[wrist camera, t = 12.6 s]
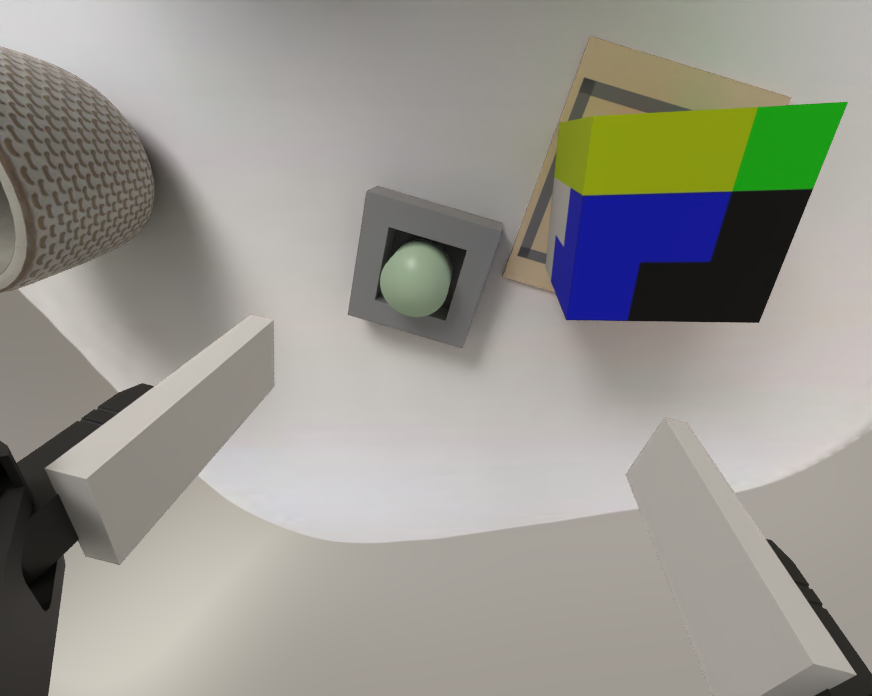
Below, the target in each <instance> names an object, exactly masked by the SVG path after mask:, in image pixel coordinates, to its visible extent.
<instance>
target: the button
mask: <svg viewBox="0 0 872 696" xmlns="http://www.w3.org/2000/svg"><path fill="white" fill-rule="evenodd" d="M452 273H453V271H452V264H451V261H450V258H449V256H448V255H447V253H446V252H445V251H444V249H442V248H441V247H440V246H439V245H437V244H436V243H434V242H431V241H428V240H422V239H419V240H412V241H409V242H407V243H405V244H403V245H402V246H401V247H400V248H399V249H398V250H397V251H396V252H395V254H394V255H393V256H392V257H391V258H390V259H389V261H388V262H387V263H386V264H385V266H384V268H383V270H382V273H381V277H380V287H381V291H382V294H383V296H384V298H385V300H386V301H387V303H388V304H389V305H390V306H391V307H392V308H393V309H394V310H396V311H397V312H399V313H401V314H403V315H406V316H410V317H424V316H427V315H430V314H432V313H434V312H435V311H437V310H438V309H439V308H440V307H441V306H442V304H443V303H444V301H445V299H446V296H447V293H448V290H449V286H450V283H451V279H452Z"/></svg>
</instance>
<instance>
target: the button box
mask: <svg viewBox="0 0 872 696" xmlns="http://www.w3.org/2000/svg"><path fill="white" fill-rule="evenodd" d="M395 229H397V230H400V231H404V232H407V233H411V234H414V235H417V236H421V237H424V238H427V239H431V240H434V241H438V242H441V243H444V244H448V245H451V246H454V247H458V248H461V249H464V250H466V253H465V257H464V260H463V263H462V266H461V270H460V273H459V276H458V280H457V283H456V286H455V290H454V293H453V296H452V300H451V303H450V306H446V305H442V306H441V307H440V308H439V309H438V310H437V311H435V312H434V313H432V314H430V315H427V316H424V317H410V316H406V315H403V314H401V313H399V312H397V311H396V310H394V309H393V308H392V307H391V306H390V305H389V304H388V303H387V301H386V300H385V298H384V296H383V294H382V291H381V287H380V277H381V273H382V270H383V268H384V266H385V264H386V263H387V262H388V261H389V259H390V255H391V249H392V244H393V239H394V234H395ZM501 234H502V223H500V222H497V221H493V220H490V219H487V218H483V217H480V216H477V215H473V214H470V213H467V212H463V211H460V210H457V209H453V208H450V207H446V206H443V205H440V204H436V203H433V202H430V201H426V200H423V199H420V198H416V197H413V196H410V195H406V194H403V193H400V192H396V191H393V190H389V189H386V188H383V187H379V186H377V187H374V188H372V189H370V190H368V191H367V192H366V199H365V205H364V212H363V218H362V225H361V231H360V238H359V244H358V251H357V258H356V264H355V271H354V277H353V284H352V290H351V297H350V303H349V310H348V315H351V316H354V317H357V318H361V319H364V320H368V321H371V322H375V323H378V324H381V325H385V326H388V327H392V328H395V329H398V330H402V331H405V332H409V333H412V334H415V335H419V336H422V337H426V338H429V339H433V340H436V341H439V342H443V343H446V344H450V345H453V346H456V347H460V348H463V345H464V342H465V339H466V336H467V333H468V330H469V327H470V324H471V321H472V318H473V316H474V313H475V310H476V307H477V304H478V301H479V298H480V295H481V292H482V289H483V286H484V283H485V281H486V278H487V275H488V272H489V269H490V266H491V263H492V260H493V257H494V254H495V251H496V248H497V246H498V243H499V240H500V237H501Z"/></svg>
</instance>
